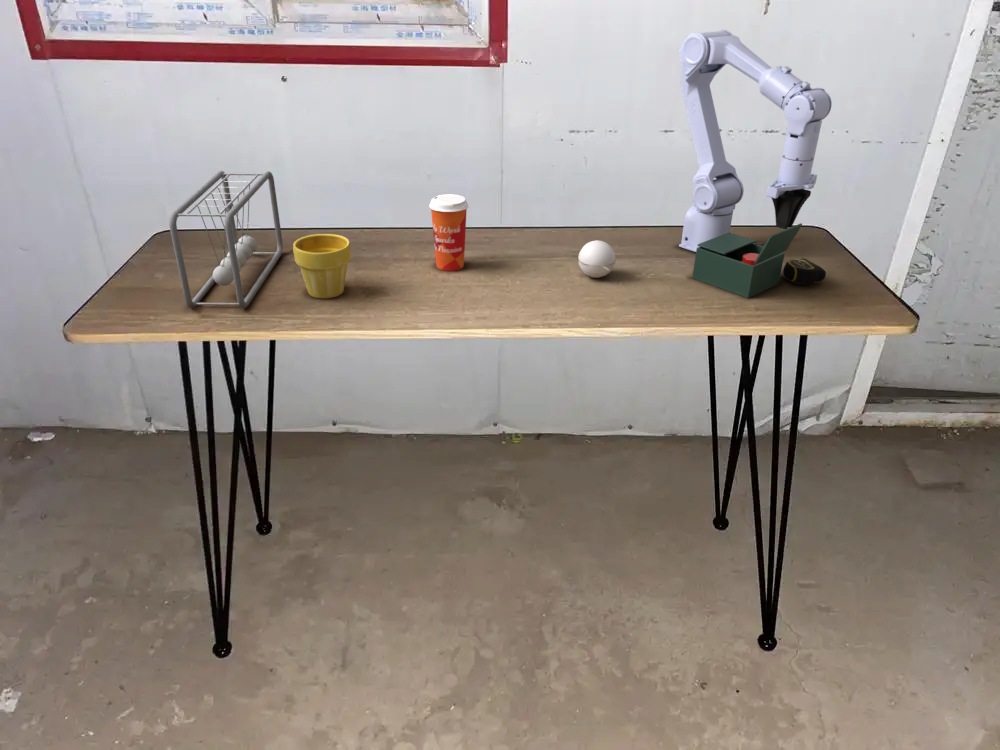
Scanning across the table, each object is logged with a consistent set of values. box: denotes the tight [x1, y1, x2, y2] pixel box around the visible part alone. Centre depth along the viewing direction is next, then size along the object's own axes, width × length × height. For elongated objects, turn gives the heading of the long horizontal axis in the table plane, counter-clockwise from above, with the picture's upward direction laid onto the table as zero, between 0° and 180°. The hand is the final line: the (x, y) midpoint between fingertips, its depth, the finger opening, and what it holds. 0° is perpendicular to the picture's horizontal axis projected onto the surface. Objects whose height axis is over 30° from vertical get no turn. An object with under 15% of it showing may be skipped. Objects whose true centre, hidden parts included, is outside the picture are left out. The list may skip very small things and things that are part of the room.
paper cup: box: [429, 193, 470, 272], centre depth 155 cm, size 8×8×14 cm
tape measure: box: [782, 258, 827, 286], centre depth 153 cm, size 7×7×4 cm
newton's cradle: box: [168, 170, 284, 309], centre depth 147 cm, size 30×10×18 cm, turn 0°
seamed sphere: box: [577, 239, 616, 279], centre depth 152 cm, size 10×7×7 cm
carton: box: [691, 231, 785, 299], centre depth 152 cm, size 13×11×7 cm
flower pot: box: [292, 233, 352, 299], centre depth 145 cm, size 10×10×10 cm
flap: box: [754, 223, 803, 264], centre depth 144 cm, size 6×11×1 cm
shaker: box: [742, 253, 764, 266], centre depth 150 cm, size 4×4×6 cm
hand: (783, 226), depth 152 cm, fingers closed
